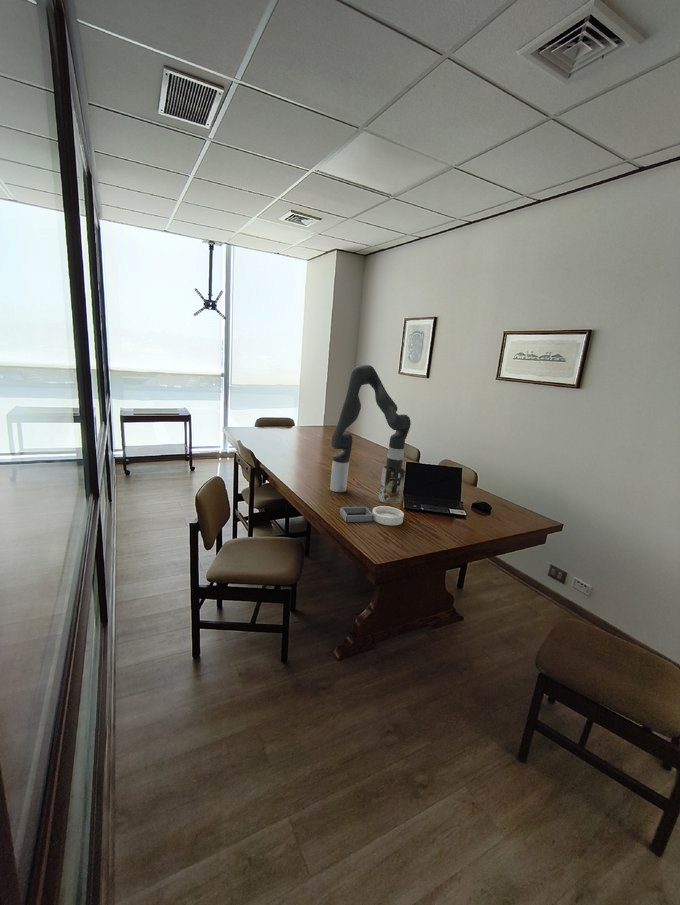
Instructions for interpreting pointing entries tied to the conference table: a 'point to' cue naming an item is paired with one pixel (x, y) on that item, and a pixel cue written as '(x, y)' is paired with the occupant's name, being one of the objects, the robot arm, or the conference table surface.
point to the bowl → (387, 515)
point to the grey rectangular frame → (356, 518)
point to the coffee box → (390, 485)
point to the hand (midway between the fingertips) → (390, 490)
